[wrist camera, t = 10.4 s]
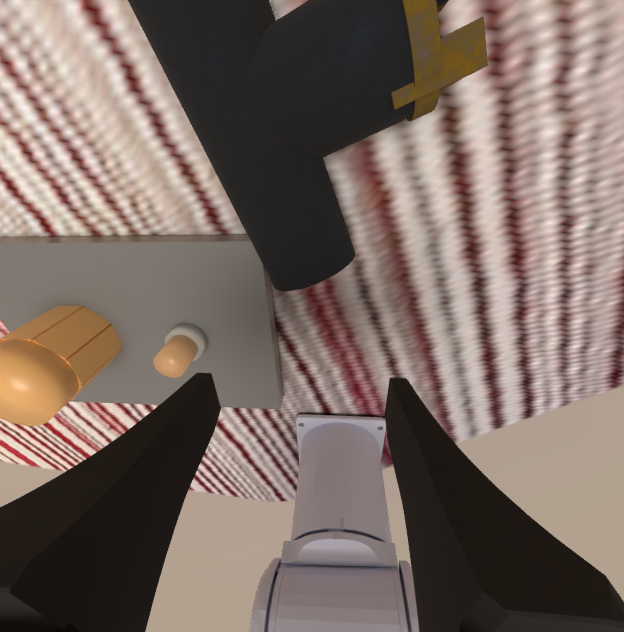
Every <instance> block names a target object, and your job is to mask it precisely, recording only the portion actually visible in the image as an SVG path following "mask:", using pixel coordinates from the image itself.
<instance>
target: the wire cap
mask: <svg viewBox="0 0 624 632" xmlns="http://www.w3.org/2000/svg"><path fill="white" fill-rule="evenodd" d="M110 324H111V323H110V322H108V321H107V320H105V319H104V318H102V317H101V316H99V315H98V314H96V313H94V312H93V311H91V310H90V309H88V308H87V307H83V306H56V307H54V308H52V309H50V310H49V311H47V312H45V313H43V314H42V315H40V316H38V317H37V318H35V319H33V320H31V321H30V322H28V323H26V324H24V325H23V326H21V327H19V328H18V329H16V330H14V331H12V332H11V333H9V334H7V335H5V336H4V337H2V338H0V418H1V419H3V420H6V421H9V422H12V423H16V424H20V425H28V426H36V425H41V424H44V423H46V422H48V421H49V420H50V419H51V418H52V417H53V416H54V415H55V414H56V413H57V412H58V411H59V410H60V409H62V408H63V407H64V406H65V405H66V404H67V403H68V402H69V401H71V400H73V399H74V398H75V397H76V396H77V395H78V394H79V393H80V392H81V391H82V390H83V389H84V388H85V387H86V386H87V385H88V384H89V383H91V382H92V381H93V380H94V379H95V378H96V377H97V376H98V375H99V374H100V373H101V372H102V371H103V370H104V369H105V368H106V367H107V366H108V365H109V364H110V363H111V362H112V361H113V360H114V358H115V357H116V356H117V354H118V353H119V352H120V350H121V349H122V345H121V342H120V340H119V338H118V336H117V334H116V331H115V329H114V327H113V325H110Z"/></svg>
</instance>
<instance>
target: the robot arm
mask: <svg viewBox="0 0 624 632" xmlns="http://www.w3.org/2000/svg"><path fill="white" fill-rule="evenodd" d="M220 410H221V406H220V403H219V399H218V395H217V392H216V388H215V384H214V381H213V377H212V373H196V374H195V375H194V376H192V377H191V378H190V379H189V380H188V381H187V382H186V383H184V384H183V385H182V386H181V387H180V388H179V389H178V390H176V391H175V392H174V393H173V394H172V395H171V396H170V397H168V398H167V399H166V400H165V401H164V402H163V403H161V404H160V405H159V406H158V407H157V408H156V409H154V410H153V411H152V412H151V413H149V414H148V415H147V416H146V417H144V418H143V419H142V420H141V421H139V422H138V423H137V424H135V425H134V426H133V427H132V428H130V429H129V430H128V431H127V432H125V433H124V434H122V435H121V436H120V437H118V438H117V439H116V440H114V441H113V442H111V443H110V444H108V445H107V446H105V447H104V448H103V449H101V450H100V451H98V452H97V453H95V454H94V455H92V456H90V457H89V458H87V459H86V460H84V461H82V462H81V463H79V464H78V465H76V466H74V467H73V468H71V469H69V470H68V471H66V472H65V473H63V474H61V475H60V476H58V477H56V478H55V479H53V480H51V481H49V482H47V483H46V484H44V485H42V486H40V487H38V488H37V489H35V490H33V491H31V492H29V493H27V494H26V495H24V496H22V497H20V498H18V499H16V500H14V501H12V502H10V503H8V504H6V505H4V506H2V507H0V632H145V630H146V626H147V622H148V619H149V615H150V611H151V607H152V603H153V600H154V596H155V592H156V589H157V585H158V582H159V578H160V575H161V571H162V568H163V564H164V561H165V558H166V554H167V551H168V548H169V545H170V541H171V539H172V535H173V532H174V529H175V526H176V523H177V520H178V517H179V514H180V511H181V508H182V505H183V502H184V499H185V497H186V494H187V492H188V489H189V487H190V485H191V482H192V480H193V478H194V476H195V473H196V471H197V469H198V467H199V464H200V462H201V460H202V458H203V455H204V453H205V451H206V449H207V446H208V444H209V442H210V440H211V437H212V435H213V433H214V430H215V427H216V423H217V420H218V417H219V413H220ZM379 426H380V427H379ZM296 430H297V441H298V453H299V464H300V466H299V475H298V484H297V492H296V501H295V510H294V518H293V527H292V537H291V541H284V543H283V550H282V557H281V558H275V559H273V560H272V561H271V563H270V564H269V566H268V568H267V569H266V570H265V572H264V573H263V575H262V577H261V579H260V582H259V585H258V588H257V591H256V595H255V600H254V604H253V609H252V615H251V622H250V630H249V632H624V602H623V600H622V599H621V597H620V596H619V594H618V593H617V591H616V590H615V589H614V587H613V586H612V584H611V583H610V581H609V580H608V579H607V577H606V576H605V575H604V574H602V573H601V572H600V571H599V570H597V569H596V568H595V567H593V566H592V565H591V564H589V563H588V562H587V561H585V560H584V559H583V558H581V557H580V556H579V555H577V554H576V553H575V552H573V551H572V550H571V549H570V548H568V547H567V546H565V545H564V544H563V543H562V542H560V541H559V540H558V539H556V538H555V537H554V536H553V535H551V534H550V533H549V532H548V531H547V530H545V529H544V528H543V527H542V526H541V525H539V524H538V523H537V522H536V521H534V520H533V519H532V518H531V517H530V516H528V515H527V514H526V513H525V512H524V511H523V510H521V508H520V507H518V506H517V505H516V504H515V503H514V502H513V501H512V500H511V499H509V498H508V497H507V496H506V495H505V494H504V493H503V492H502V491H500V490H499V489H498V488H497V487H496V486H495V485H494V484H493V483H492V482H491V481H490V480H489V479H488V478H487V477H486V476H485V475H484V474H483V473H482V472H481V471H480V470H479V469H478V468H477V467H476V466H475V465H474V464H473V463H472V462H471V461H470V460H469V459H468V458H467V456H466V455H465V454H464V453H463V452H462V451H461V450H460V449H459V448H458V446H457V445H456V444H455V443H454V442H453V441H452V439H451V438H450V437H449V436H448V435H447V433H446V432H445V431H444V430H443V428H442V427H441V426H440V425H439V423H438V422H437V421H436V420H435V418H434V417H433V416H432V414H431V413H430V412H429V410H428V409H427V408H426V406H425V405H424V403H423V402H422V401H421V399H420V398H419V396H418V395H417V393H416V392H415V390H414V389H413V387H412V386H411V384H410V383H409V381H408V380H407V379H406V378H390V381H389V388H388V395H387V402H386V409H385V419H384V418H382V417H359V416H333V415H307V414H299V415H297V416H296ZM386 430H387V438H388V443H389V447H390V452H391V456H392V461H393V465H394V469H395V473H396V478H397V482H398V486H399V490H400V495H401V499H402V504H403V510H404V515H405V522H406V529H407V536H408V543H409V550H410V558H411V566H412V567H410V564H409V563H408V562H407V561H399V570H398V563H397V556H396V549H395V544H394V543H392V541H391V534H390V526H389V519H388V511H387V504H386V497H385V490H384V483H383V475H382V468H381V457H382V451H383V444H384V437H385V431H386Z"/></svg>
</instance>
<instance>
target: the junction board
mask: <svg viewBox="0 0 624 632" xmlns="http://www.w3.org/2000/svg"><path fill="white" fill-rule="evenodd" d="M56 306H83V307H87V308H88V309H90V310H91V311H93V312H94V313H96V314H98V315H99V316H101V317H102V318H104V319H105V320H107V321H108V322H110V323H111V324H110V325H113V327H114V329H115V331H116V334H117V336H118V338H119V340H120V342H121V345H122V349H121V350H120V352H119V353H118V354H117V356H116V357H115V358H114V360H113V361H112V362H111V363H110V364H109V365H108V366H107V367H106V368H105V369H104V370H103V371H102V372H101V373H100V374H99V375H98V376H97V377H96V378H95V379H94V380H93V381H92V382H91V383H89V384H88V385H87V386H86V387H85V388H84V389H83V390H82V391H81V392H80V393H79V394H78V395H77V396H76V397H75V398H74V399H73V400H71V401H74V402H101V403H128V404H155V405H160V404H161V403H163V402H164V401H165V400H166V399H167V398H168V397H170V396H171V395H172V394H173V393H174V392H175V391H176V390H178V389H179V388H180V387H181V386H182V385H183V384H184V383H186V382H187V381H188V380H189V379H190V378H191V377H192V376H194V375H195V374H196V373H212V377H213V381H214V384H215V388H216V392H217V395H218V399H219V403H220V406H221V407H235V408H262V409H281V405H282V400H283V388H282V379H281V370H280V361H279V352H278V343H277V334H276V325H275V316H274V307H273V298H272V289H271V280H270V277H269V275H268V274H267V272H266V270H265V268H264V266H263V264H262V262H261V260H260V258H259V256H258V254H257V252H256V250H255V248H254V246H253V244H252V242H251V240H250V238H249V236H248V234H246V235H153V236H60V237H0V319H1V320H2V322H3V323H4V325H5V326H6V327H7V329H8V330H9V332H10V333H11V332H12V331H14V330H16V329H18V328H19V327H21V326H23V325H24V324H26V323H28V322H30V321H31V320H33V319H35V318H37V317H38V316H40V315H42V314H43V313H45V312H47V311H49V310H50V309H52V308H54V307H56Z"/></svg>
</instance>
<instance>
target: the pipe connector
mask: <svg viewBox="0 0 624 632" xmlns="http://www.w3.org/2000/svg"><path fill="white" fill-rule="evenodd" d="M128 1H129V3H130V5H131V7H132V9H133V11H134V13H135V15H136V17H137V19H138V21H139V23H140V25H141V27H142V29H143V31H144V33H145V35H146V37H147V39H148V41H149V42H150V44H151V46H152V48H153V50H154V52H155V54H156V56H157V58H158V60H159V62H160V64H161V66H162V68H163V70H164V72H165V74H166V76H167V78H168V80H169V82H170V84H171V86H172V88H173V89H174V91H175V93H176V95H177V97H178V99H179V101H180V103H181V105H182V107H183V109H184V111H185V113H186V115H187V117H188V119H189V121H190V123H191V125H192V127H193V129H194V131H195V133H196V135H197V136H198V138H199V140H200V142H201V144H202V146H203V148H204V150H205V152H206V154H207V156H208V158H209V160H210V162H211V164H212V166H213V168H214V170H215V172H216V174H217V176H218V178H219V180H220V181H221V183H222V185H223V187H224V189H225V191H226V193H227V195H228V197H229V199H230V201H231V203H232V205H233V207H234V209H235V211H236V213H237V215H238V217H239V219H240V221H241V223H242V225H243V227H244V228H245V230H246V232H247V234H248V236H249V238H250V240H251V242H252V244H253V246H254V248H255V250H256V252H257V254H258V256H259V258H260V260H261V262H262V264H263V266H264V268H265V270H266V272H267V274H268V275H269V277H270V279H271V281H272V283H273V285H274V287H275V288H276V289H277V290H280V291H292V290H297V289H302V288H305V287H309V286H311V285H314V284H317V283H319V282H321V281H323V280H326V279H328V278H329V277H331V276H333V275H335V274H336V273H338V272H339V271H341V270H342V269H344V268H345V267H346V266H347V265H348V264H349V263H350V262H351V261H352V260H353V258H354V257H355V251H354V248H353V245H352V242H351V240H350V237H349V234H348V231H347V228H346V225H345V222H344V219H343V216H342V213H341V210H340V207H339V205H338V202H337V199H336V196H335V193H334V190H333V187H332V184H331V181H330V178H329V175H328V172H327V170H326V167H325V164H324V161H323V157H325V156H327V155H329V154H331V153H333V152H336V151H338V150H340V149H342V148H344V147H346V146H349V145H351V144H353V143H355V142H357V141H359V140H362V139H364V138H366V137H368V136H370V135H373V134H375V133H377V132H379V131H381V130H383V129H386V128H388V127H390V126H392V125H394V124H396V123H399V122H401V121H403V120H405V119H407V120H408V121H412V120H414V119H417V118H419V117H421V116H423V115H425V114H428V113H430V112H432V111H433V110H434V109H435V107H436V105H437V102H438V98H439V93H440V90H441V89H443V88H445V87H447V86H449V85H451V84H453V83H455V82H457V81H459V80H461V79H462V78H464V77H466V76H468V75H470V74H472V73H474V72H476V71H478V70H480V69H482V68H484V67H486V66H488V63H487V51H486V40H485V28H484V17H481V18H479V19H477V20H475V21H473V22H471V23H469V24H467V25H465V26H463V27H462V28H460V29H458V30H456V31H454V32H452V33H450V34H448V35H446V36H444V37H442V38H440V29H439V20H438V12H439V11H441V10H442V8H443V7H444V6H445V4H446V3H447V2H448V0H309V1H307V2H305V3H304V4H302V5H301V6H299V7H297V8H296V9H294V10H293V11H291V12H290V13H288V14H286V15H285V16H283V17H282V18H280V19H278V20H277V21H275V18H274V15H273V12H272V9H271V6H270V3H269V0H128Z"/></svg>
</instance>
